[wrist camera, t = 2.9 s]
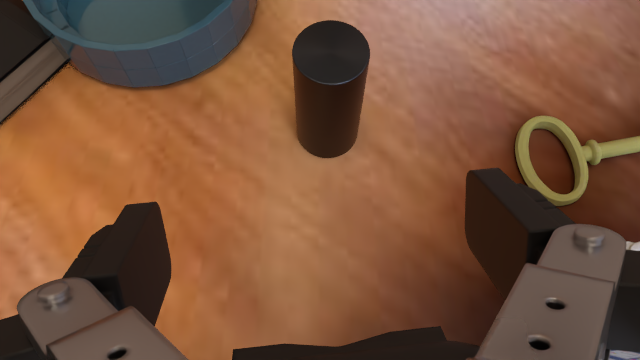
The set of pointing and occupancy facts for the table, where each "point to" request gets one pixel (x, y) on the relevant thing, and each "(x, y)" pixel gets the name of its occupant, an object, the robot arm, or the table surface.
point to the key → (577, 154)
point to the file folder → (23, 56)
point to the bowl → (143, 36)
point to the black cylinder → (329, 86)
